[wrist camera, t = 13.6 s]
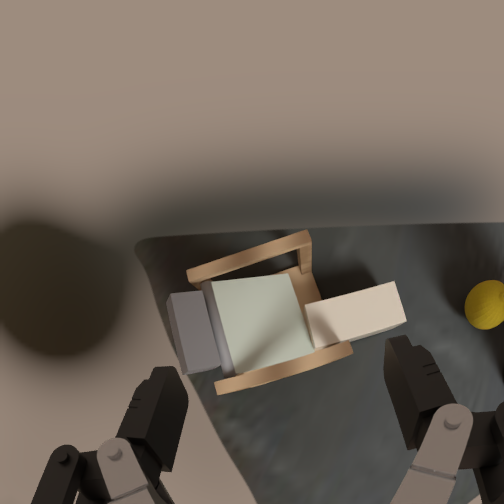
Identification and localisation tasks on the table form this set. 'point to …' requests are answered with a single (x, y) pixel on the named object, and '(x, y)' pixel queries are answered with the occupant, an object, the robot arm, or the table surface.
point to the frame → (305, 295)
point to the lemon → (485, 304)
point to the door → (238, 325)
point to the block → (353, 315)
